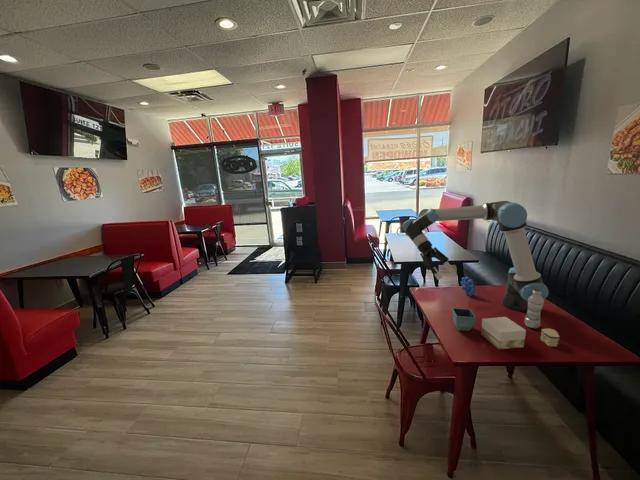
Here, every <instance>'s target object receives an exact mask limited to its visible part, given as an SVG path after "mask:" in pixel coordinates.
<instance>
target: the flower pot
mask: <svg viewBox="0 0 640 480" xmlns="http://www.w3.org/2000/svg"><path fill="white" fill-rule="evenodd" d="M451 310H452V311H451V313H452V315H451V316H452V320H453V323H454V325H455V327H456V329H457V330H458V331H462V332H463V331H464V332H465V331H466V332H469V331H470V330H472V328H473V327H474V325H475V321H476V316H475V314H474V313H473V311H472V310H471V309H470V308H457V307H452V308H451Z"/></svg>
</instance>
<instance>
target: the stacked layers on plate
mask: <svg viewBox="0 0 640 480" xmlns="http://www.w3.org/2000/svg"><path fill="white" fill-rule="evenodd" d="M540 334H541V335H539V336H540V341H541V342H543V343H544V344H546V345H547V346H548V347H555V348H557V347H558V345H559V341H560V337H561V336H560V335H559V332H557V331H556V329H552V328H541V332H540Z"/></svg>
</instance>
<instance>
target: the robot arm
mask: <svg viewBox="0 0 640 480" xmlns="http://www.w3.org/2000/svg"><path fill="white" fill-rule="evenodd" d="M477 219H478V220H480V219H481V220H482V219H483V220H484V221H496V222H497V224H498V228H499V231H500V232H501V233H503V234H504V237H505V241H506V244H507V247H508V250H509V254H510V258H511V261H512V265H513V267H510V268H509V270H508V272H507V274H508V275H507V280H506V283H507V284H506V290H505V292H504V294H503V296H502V298H501V303H500V304H501V305H502V306H503V307H506V308H508V309H511V310H514V311H519V312H527V310H528V297H529V296H530V295H532V294H533V293H532V291H533V289H539V290H541V291H542V295H541V296H542V298H543V300H545V299H546V298H547V297H548V296H549V288H548V287H547V285H546V284H544V282H543V278H542V275H541V273H540V272H539V271H537V270H536V267H535V263H534V260H533V255H532V251H531V249H530V245H529V241H528V238H527V233H526V231H525V228H526V227H528V226H527V225H528V224H527V219H528V212H527V210H526V208H525V207H524V206H523V205H521V204H520V203H518V202H517V203H516V202H512V201H508V200H500V201H495V202H493V201H492V202H485V203H484V202H483V203H482V204H481V205H469V206H458V207H457V206H456V207H455V206H454V207H445V208H435V209H434V208H429V209H428V208H423V209H421V210H420V211H419V213H418V217H417V218H416V219H413V218H409V219H407V220H406V221H404V222H403V223H402V224H401V226H402V227H401V228H402V229H403V230H404V232H405V234H406V235H407V236H408V238H409V239H410V240H411V241H412V243H413V244H414V245H415V247H416V248H417V250H418V251H419V252H420V254H419V256H421V259H422V262H423V264H424V268H425V269H426V270H427V271H431V273H432V274H433V276H434V277H435V279H436V280H438V281H439V280H441V279H442V278H443V275H442V274H441V273H440V271H438V269H437V268H436V266H434V263H433V259H436V260H437V261H440V262H442V263H443V266H444V267H445V269H446V270H447V271H448V272H449V274H453V273H454V272H456V270H455V269H454V268H453V266H452V265H451V264H450V263H449V261H450V260H449V257H447V256H446V254H444V253H442V252H441V251H440V250H439V249H438V248H437V247H436V246H435V247H432V246H433V244H432V242H431V241H430V240H429V239H428V237H427V236H426V235H425V233H424V232H423V231H424V230H426V229H427V228H428V227H430V226H431V225H433V224H434V223H436V222H447V221H449V222H450V221H462V220H466V221H468V220H477Z"/></svg>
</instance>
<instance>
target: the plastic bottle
mask: <svg viewBox="0 0 640 480" xmlns="http://www.w3.org/2000/svg"><path fill="white" fill-rule="evenodd" d="M532 293H533V294H532V295H530V296H529V297H528V310H527V311H526V315H525V317H524V319H523V320H524V325H525V326H526V327H528V328H530V329H538V328H539V327H540V326H541V312H542V310H543V309H542V308H543V306H544V303H545V301H544V300H545V299H544V300H543V298H542V296H541V295H542V291H541V290H539V289H533V291H532Z"/></svg>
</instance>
